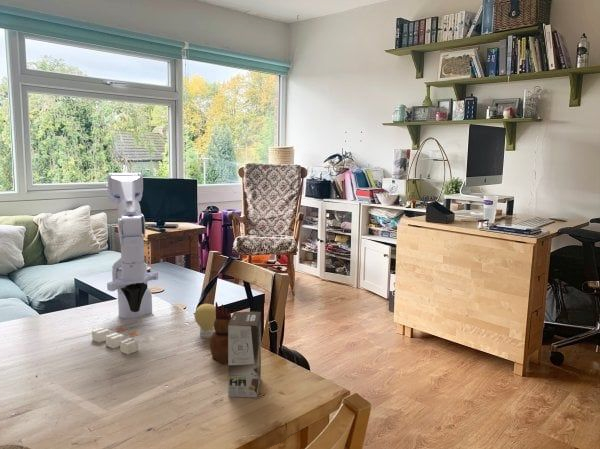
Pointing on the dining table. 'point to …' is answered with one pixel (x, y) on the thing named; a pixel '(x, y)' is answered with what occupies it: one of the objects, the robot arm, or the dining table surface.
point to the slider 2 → (129, 346)
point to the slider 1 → (100, 334)
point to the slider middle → (114, 340)
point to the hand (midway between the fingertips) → (134, 311)
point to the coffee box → (244, 354)
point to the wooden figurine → (220, 336)
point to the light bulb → (205, 319)
